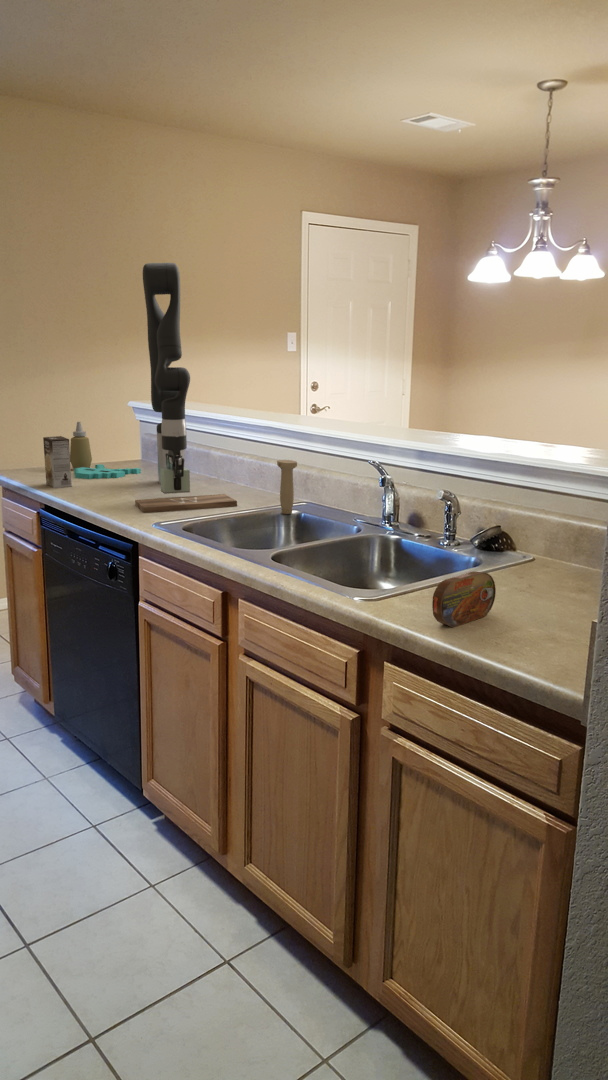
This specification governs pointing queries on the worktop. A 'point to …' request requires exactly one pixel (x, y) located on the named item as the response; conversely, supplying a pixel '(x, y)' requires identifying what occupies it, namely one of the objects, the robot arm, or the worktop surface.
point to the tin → (463, 598)
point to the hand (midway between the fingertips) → (175, 488)
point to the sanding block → (168, 481)
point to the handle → (286, 485)
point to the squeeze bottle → (80, 449)
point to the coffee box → (57, 461)
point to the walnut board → (185, 503)
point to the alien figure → (103, 472)
